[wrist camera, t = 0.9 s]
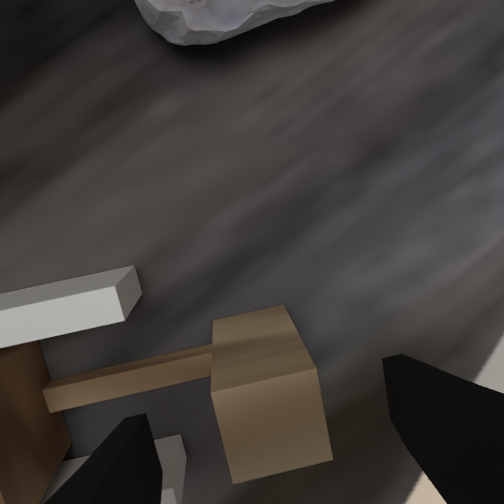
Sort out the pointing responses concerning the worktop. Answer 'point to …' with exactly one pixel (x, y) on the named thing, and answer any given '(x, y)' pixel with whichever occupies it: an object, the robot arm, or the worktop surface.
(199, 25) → the stone block
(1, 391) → the tethered block
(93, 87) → the worktop surface
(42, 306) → the cubby lane
